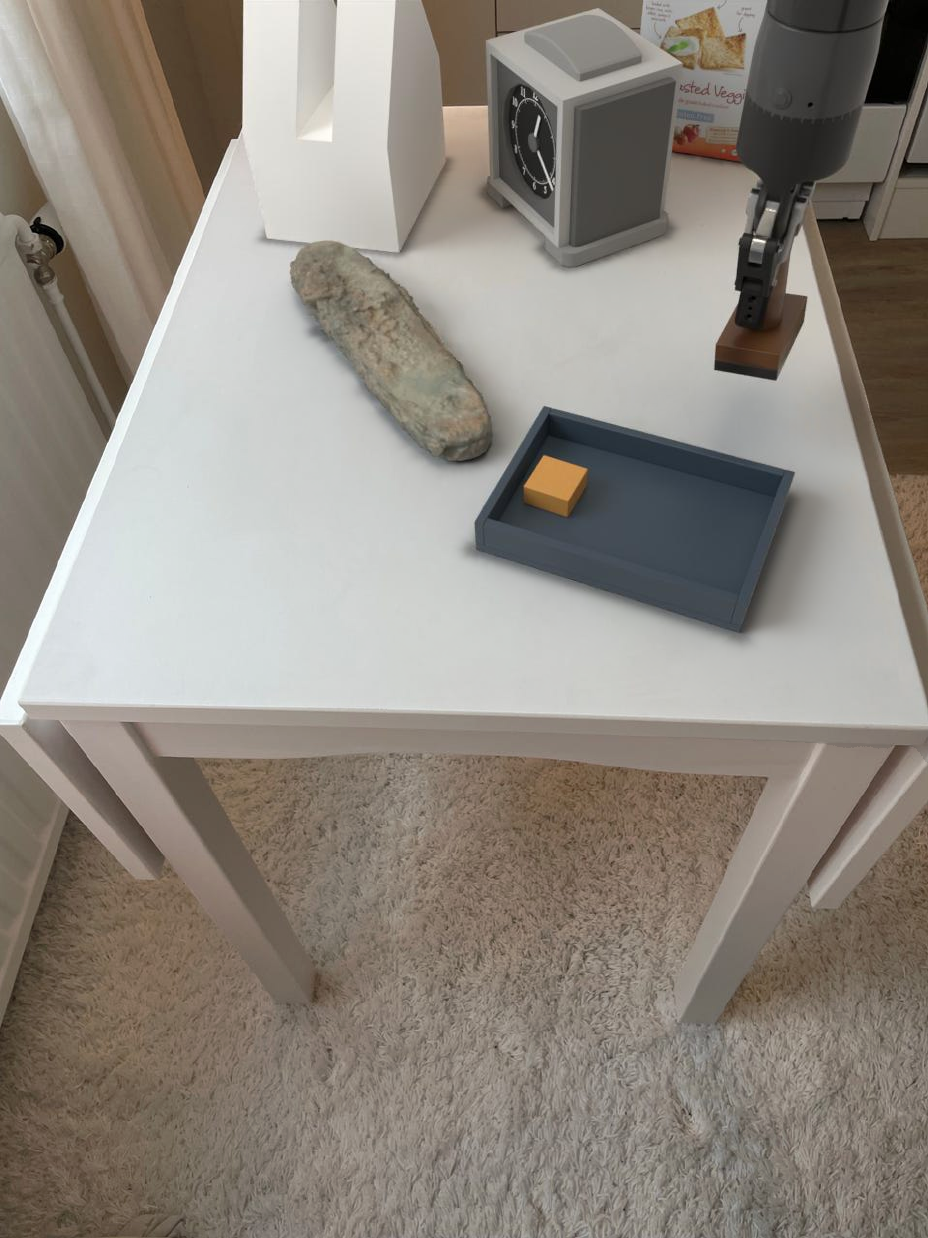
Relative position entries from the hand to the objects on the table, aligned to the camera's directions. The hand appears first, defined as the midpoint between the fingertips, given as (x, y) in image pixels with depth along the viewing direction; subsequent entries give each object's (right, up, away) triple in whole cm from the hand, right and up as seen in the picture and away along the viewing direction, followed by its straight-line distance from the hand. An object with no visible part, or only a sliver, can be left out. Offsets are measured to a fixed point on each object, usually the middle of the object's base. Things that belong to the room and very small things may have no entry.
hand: (754, 311), depth 76 cm
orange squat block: (-15, -14, +4) cm, 21 cm away
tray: (-9, -17, +2) cm, 19 cm away
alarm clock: (-11, +21, +31) cm, 39 cm away
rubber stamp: (+1, -2, +2) cm, 3 cm away
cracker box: (+4, +32, +38) cm, 50 cm away
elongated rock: (-31, +1, +17) cm, 35 cm away
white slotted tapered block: (-35, +24, +34) cm, 55 cm away
